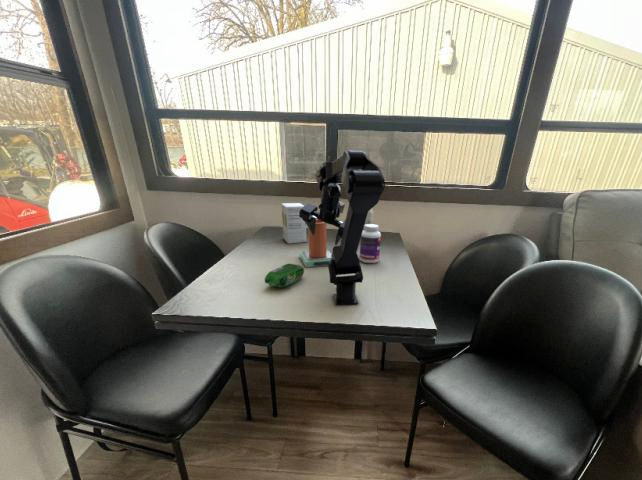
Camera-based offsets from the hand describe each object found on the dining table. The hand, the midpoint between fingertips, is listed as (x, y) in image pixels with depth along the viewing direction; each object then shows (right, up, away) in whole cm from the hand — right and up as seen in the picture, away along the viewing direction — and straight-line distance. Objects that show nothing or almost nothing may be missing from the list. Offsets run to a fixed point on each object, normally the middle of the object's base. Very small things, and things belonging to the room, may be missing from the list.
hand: (324, 239), depth 105 cm
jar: (-4, -3, +12) cm, 13 cm away
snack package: (-12, -16, -7) cm, 21 cm away
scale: (-4, -6, +13) cm, 15 cm away
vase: (+17, +13, +52) cm, 56 cm away
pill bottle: (+17, -6, +16) cm, 24 cm away
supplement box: (-18, +7, +38) cm, 43 cm away
